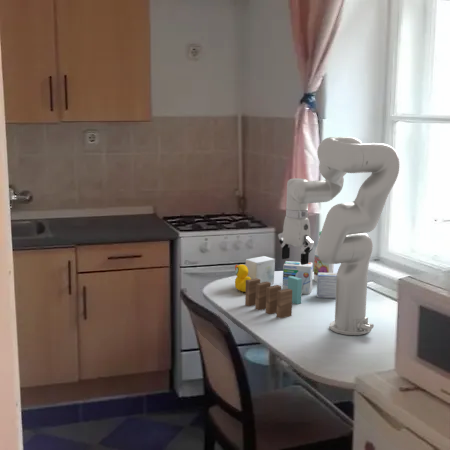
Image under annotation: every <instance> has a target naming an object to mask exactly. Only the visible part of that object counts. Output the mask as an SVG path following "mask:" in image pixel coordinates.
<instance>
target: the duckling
mask: <svg viewBox="0 0 450 450" xmlns="http://www.w3.org/2000/svg"><path fill="white" fill-rule="evenodd" d="M245 265H246V264H243V263H242V264H241V263H240V264H239V265H238V264H235V266H234V272H235V276H236V278H235V279H234V280H235V281H234V286H235V288H236V290H238V291H240V292H242V293H246V280H250V279H251V278H250V277H247V275H248V268H247V266H245Z"/></svg>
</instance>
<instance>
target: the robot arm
mask: <svg viewBox="0 0 450 450" xmlns="http://www.w3.org/2000/svg"><path fill="white" fill-rule="evenodd" d="M316 153H317V154H316V155H317V159H318V161H319V162H320V163H319V166H318V170H319V173H320V175H321V176H322V177H323V179H322V180H320V179H319V180H307V179H306V178H299V177H298V178H297V177H296V178H290V179H288V180H287V184H286V203H285V204H286V207H285V208H286V209H285V217H284V220H283V227H282V232H280V233H278V234H277V237H278V240H279V243H280V247H281V259H282V260H287V259H289V258H290V255H291V254H290V253H291V247H290V246H292V247H295V248H300V251H301V253H300V262H301V265H305V264H308V263H309V257H310V256H309V255H310V254H311V251H313V248H314V247H315V242H314V240H312V239H311V224H310V219H309V218H308V217H309V213H308V212H309V211H308V209H309V204H316V203H327V202H330V201H333V200H334V199H335V198H336V197H337V196H338V195H339V194H340V193H341V191H342V190H343V187H344V176H345V175H346V174H365V173H371V174H370V176H368V177H367V178H366V179H365V180H364V181H363V182H362V183H361V185H360V187H359V189H358V192H357V194H356V197H355V199H354V200H353V201H351V202H341V203H337V204H335V205H333V206H332V207H331V208H330V209H329V210H328V212H327V215H326V217H325V220H324V223H323V226H322V229H321V230H320V231H321V234H320V237H318V241H317V245H316V247H317V253H318V256H319V258H320V260H321V261H322V262H324V263H326V264H334V265H338V264H339V267H338V270H337V272H336V273H337V280H336V298H335V303H334V304H335V305H334V306H335V307H334V320H333V321H331V322H330V323H329V329H330V330H331V331H332V332H334V333H337V334H340V335H347V336H362V335H365V334H368V333H370V332H371V331H372V329H374V326H375V325H374V324H373V323H369V317H366V314H367V313H366V312H367V311H366V310H367V293H368V279H369V276H368V275H369V268H370V267H369V266H370V263H371V262H370V261H371V257H372V253H373V247H374V246H373V241H372V238H371V237H370V235H369V234H368V233H371V232H373V231H374V230H375V228H376V227H377V226H378V224H379V223H378V222H379V220H380V217H381V214H382V213H383V210H384V207H385V205H386V201H387V199H388V197H389V194H390V192H391V190H392V189H393V187H394V185H395V183H396V181H397V180H398V179H397V178H398V176H399V172H400V159H399V155H398V152H397V150H396V149H395V148H394V147H392V146H391V145H389V144H387V143H377V142H376V143H375V142H372V143H371V142H370V143H362V141H361V140H360V139H358V138H356V137H353V136H330V137H326V138H324V139H323V140H321V142H320V143H319V145H318V147H317V151H316Z"/></svg>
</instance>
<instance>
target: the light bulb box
mask: <svg viewBox="0 0 450 450" xmlns="http://www.w3.org/2000/svg"><path fill="white" fill-rule="evenodd" d="M282 266H283V267H282V287H281V290H284V289H288V277H290V276H294V277H297V278H300V279H302V289H301V295H303V294H304V295H310V294H311V293H312V290H313V277H314V262H308V264H305V265H301V261H293V260H292V261H290V260H289V261H288V260H285V262H284V263H283V265H282Z"/></svg>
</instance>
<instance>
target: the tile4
mask: <svg viewBox="0 0 450 450" xmlns="http://www.w3.org/2000/svg"><path fill="white" fill-rule="evenodd" d="M257 283H260V279H258V278H255V279H250V280H246V292H245V298H244V299H245V300H244V301H245V303H244V305H245V306H247V307H251V306H255V300H256V284H257Z"/></svg>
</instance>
